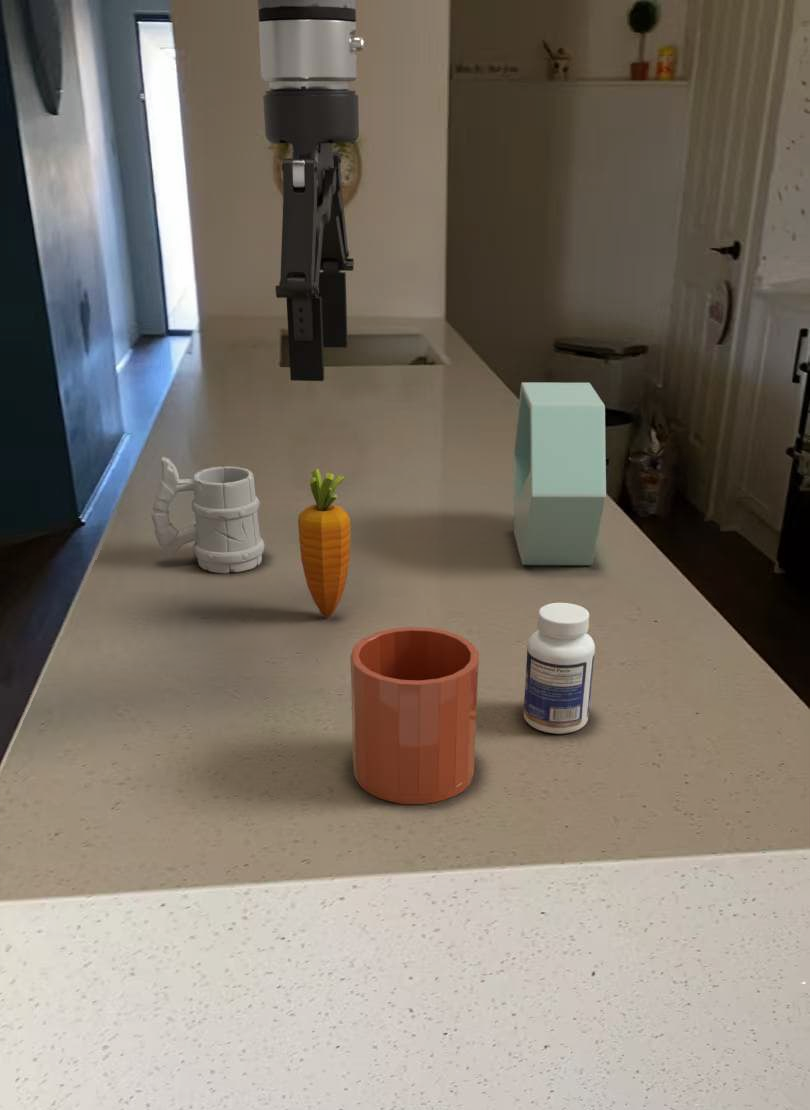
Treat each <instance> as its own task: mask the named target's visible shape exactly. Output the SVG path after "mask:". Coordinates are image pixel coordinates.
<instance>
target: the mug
mask: <svg viewBox="0 0 810 1110" xmlns="http://www.w3.org/2000/svg"><path fill="white" fill-rule="evenodd" d="M160 463H161V474H160V475H161V476H160V477H159V482H158V487H157V490H156V493H155V498H154V501H153V505H152V510H151V512H150V513H151V515H150V516H151V519H152V522H153V527H154V534H155V539H156V540H157V543H158V544H159V546H160V547H162V548H163V550H164V551H165V553H166V555H167V557H173V556H174V555H176V553H177V552H178V551H179V549H180V548H182V547H183V546H185V545H186V544H189V543H191V542H194V543H193V546H192V548H193V553H194V555H195V556H196V558H197V564H198V566H199V567H200V568H201V569H202V570H205V571H209V572H210V573H211V572H212V573H219V574H229V573H230V572H231V573H240V572H246V571H248V570H252V569H254V568H256V567H257V566H259V565H260V564H262V562H263V561H262V560H263V556H262V554H263V553H264V551H265V550H264V549H265V548H266V547H265V545H266V544H265V542H264V540H263V538H262V537H261V535H260V525H259V517H258V510H259V508H260V506H261V504H260V503H261V502H260V499H259V498H258V496H257V495H256V489H255V487H256V486H255V478H254V473H253V472H252V471H251V470H249V469H248V468H244V467H240V466H232V465H230V466H229V465H227V466H224V467H223V466H213V467H208V468H205V469H204V468H203V469H201V470H199V471H197V472H195V473H194V475H193V478H182V479H181V478H180V476H179V472H178V468H177V467H176V465H175V464H174V463H173V461H172V460H171V459H170V458H167V457H166V456H162V457H161V459H160ZM189 491H190V492H193V496H194V498H193V500H192V501H191V510H192V512H193V513H194V517H195V524H192V525H188V526H186V527H184V528H182V529H180V530H178V528H176V527H175V526H174V525H173V523H171V522H170V514H169V513H170V510H169V507H170V504H171V503H172V502H173V500H174V498H175V497H176V496H177V493H179V492H189Z"/></svg>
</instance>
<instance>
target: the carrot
mask: <svg viewBox="0 0 810 1110" xmlns="http://www.w3.org/2000/svg"><path fill="white" fill-rule="evenodd" d="M311 477H312V478H310V479H309V486H310V491H311V493H312V496H313V498H314V501H315V504H311V505H309V506H308V507H306V508H305V509H303V510H302V511H301V512H300V513H299V514H298V518H297V525H298V526H297V527H298V540H299V541H298V542H299V550H300V551H299V552H300V561H301V564H302V568H303V573H304V577H305V581H306V586H307V588H308V590H309V591H308V592H309V593H310V596H311V598H312V600H313V602H314V604H315V605H316V607H317V609H318V611H319V612H320V614H321V615H322V616H323V617H324V618H326V619H329V618H330V617H331V616H333V614H334V613H335V611H336V609H337V607H338V605H339V603H340V602H341V599H342V596H343V593H344V591H345V587H346V584H347V583H346V582H347V578H348V572H349V566H350V559H351V558H350V557H351V555H350V554H351V518H350V515H349V514H348V513H347V512H346V511H345V510H344V509H343V508H342V506H340V505H337V504H333V503H334V502H335V500H336V499H338V495H337V494H335V493H334V492H335V490H336V489H337V488H338V487H339V485H340V484H341V483H342V482H343V481H344V480H345V477H344V476H342V475H339V476H338V477H336V478H335V479H334V477H335V475H334V474H333V473H332V472H326V473H325V475H324V478H323V480H322V475H321V472H320V469H314V470H312V471H311Z"/></svg>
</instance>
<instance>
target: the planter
mask: <svg viewBox="0 0 810 1110" xmlns="http://www.w3.org/2000/svg"><path fill="white" fill-rule="evenodd" d="M512 457H513V534H514V539H515V541H516V546H517V551H518V554H519V557H520V561H521V564H522V565H523V566H593V563H594V560H595V559H594V558H595V553H596V548H597V544H598V539H599V533H600V529H601V523H602V518H603V514H604V508H605V504H606V500H607V475H606V474H607V465H606V464H607V460H606V459H607V455H606V406H605V403H604V401H603V400H602V399H601V397H600V396H599V394H598V393H597V391H596V390H595V388H594V387H593V386H592V384H591V383H590V382H553V381H552V382H550V381H549V382H545V381H544V382H538V381H536V382H534V381H533V382H531V381H529V382H526V381H525V382H521V384H520V389H519V399H518V408H517V417H516V428H515V436H514V446H513V456H512Z"/></svg>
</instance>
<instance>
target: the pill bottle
mask: <svg viewBox="0 0 810 1110" xmlns="http://www.w3.org/2000/svg"><path fill="white" fill-rule="evenodd" d="M589 628H590V612H589V611H588V610H587V608H585V607H583V606H581V605H579V604H575V603H569V602H568V603H567V602H554V603H547V604H544V605H542V606H541V607H540V608H539V609H538V617H537V630H535V631H534V632H532V634H531V635H530V637H529V638H528V640H527V645H526V646H527V647H526V666H525V679H524V680H525V683H524V698H523V718H524V720H525V721H526V723H527V724H528V725H529V726H530V727H532V728H534V729H536V730H537V731H541V732H544V733H549V734H556V735H557V734H558V735H559V734H560V735H565V734H569V733H574V732H577V731H579V730H580V729H583V728H584V727H585V725H587V723H588V720H589V714H590V706H591V695H592V685H593V676H594V675H593V673H594V663H595V655H596V645H595V641H594V640H593V638H592V636H591V635H590V634H588V632H589V631H588V630H589Z"/></svg>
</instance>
